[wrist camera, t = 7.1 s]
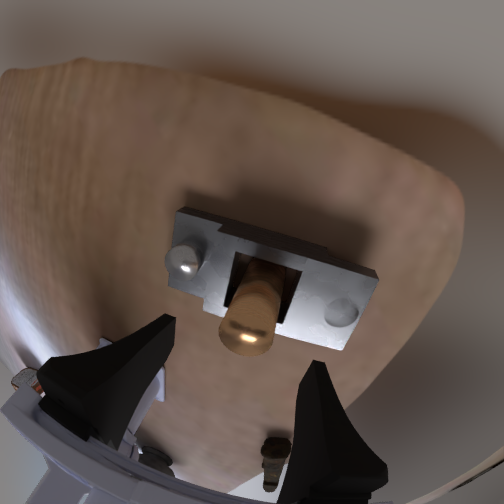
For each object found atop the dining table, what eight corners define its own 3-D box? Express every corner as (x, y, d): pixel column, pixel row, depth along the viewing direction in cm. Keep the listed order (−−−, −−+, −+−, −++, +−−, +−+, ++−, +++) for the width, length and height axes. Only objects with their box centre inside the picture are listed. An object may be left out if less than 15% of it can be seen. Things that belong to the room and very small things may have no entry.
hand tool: (264, 433, 31) (258, 460, 27) (292, 437, 31) (288, 464, 27) (258, 473, 39) (253, 492, 35) (278, 476, 38) (274, 495, 34)
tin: (30, 373, 46) (13, 391, 39) (24, 363, 45) (6, 382, 38) (54, 381, 42) (34, 404, 34) (46, 370, 41) (25, 393, 34)
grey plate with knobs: (175, 277, 23) (159, 294, 21) (184, 206, 21) (166, 216, 18) (339, 327, 22) (341, 350, 19) (370, 261, 19) (379, 279, 17)
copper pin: (244, 282, 22) (215, 346, 15) (252, 249, 21) (223, 307, 14) (279, 292, 22) (265, 361, 15) (290, 260, 21) (279, 323, 13)
